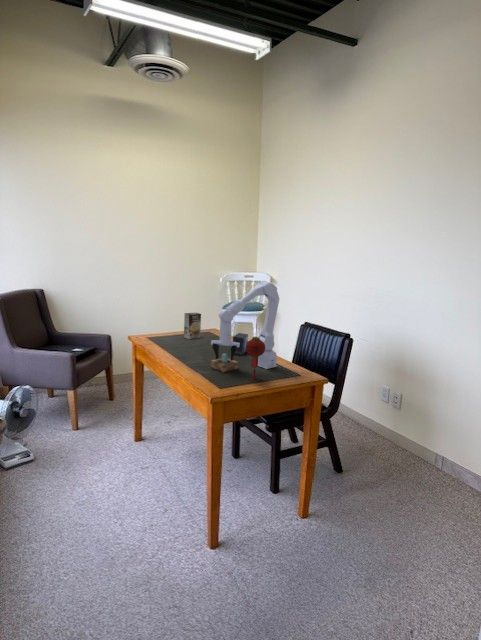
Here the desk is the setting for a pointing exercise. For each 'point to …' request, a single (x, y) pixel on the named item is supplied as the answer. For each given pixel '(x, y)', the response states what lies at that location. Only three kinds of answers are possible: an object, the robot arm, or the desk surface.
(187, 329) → the coffee box
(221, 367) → the socket block
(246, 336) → the small box
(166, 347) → the desk surface
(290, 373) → the desk surface
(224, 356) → the peg
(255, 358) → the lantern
